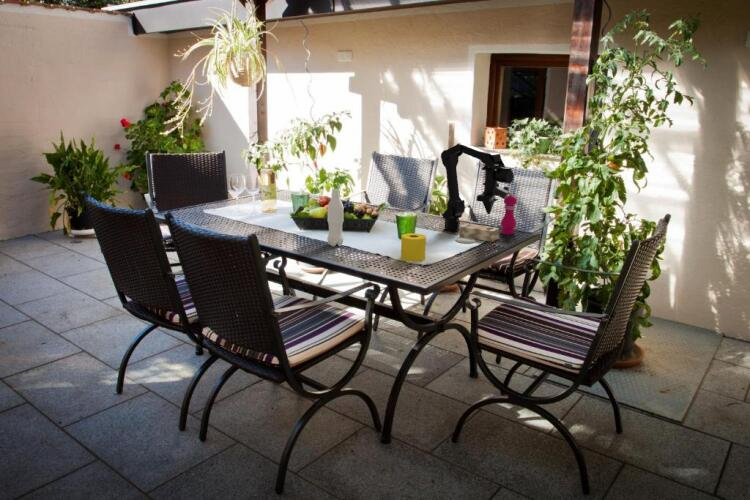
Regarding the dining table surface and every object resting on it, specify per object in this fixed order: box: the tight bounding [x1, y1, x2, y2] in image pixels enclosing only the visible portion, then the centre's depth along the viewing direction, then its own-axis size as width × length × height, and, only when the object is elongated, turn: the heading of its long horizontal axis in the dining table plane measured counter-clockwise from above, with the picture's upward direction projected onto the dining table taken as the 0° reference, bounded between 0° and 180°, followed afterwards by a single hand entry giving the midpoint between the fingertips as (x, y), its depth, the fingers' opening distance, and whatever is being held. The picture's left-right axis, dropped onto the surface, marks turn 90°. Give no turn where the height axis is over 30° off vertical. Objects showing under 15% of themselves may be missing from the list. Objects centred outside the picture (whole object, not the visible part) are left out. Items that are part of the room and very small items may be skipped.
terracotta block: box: [468, 224, 490, 230], centre depth 288 cm, size 9×4×2 cm, turn 59°
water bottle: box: [326, 188, 345, 247], centre depth 267 cm, size 7×7×25 cm
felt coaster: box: [455, 236, 477, 244], centre depth 282 cm, size 9×9×1 cm
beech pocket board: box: [459, 223, 500, 243], centre depth 288 cm, size 16×8×5 cm, turn 59°
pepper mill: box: [500, 191, 518, 235], centre depth 296 cm, size 7×7×20 cm
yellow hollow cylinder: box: [400, 232, 427, 263], centre depth 251 cm, size 10×10×9 cm
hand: (488, 214), depth 284 cm, fingers closed
